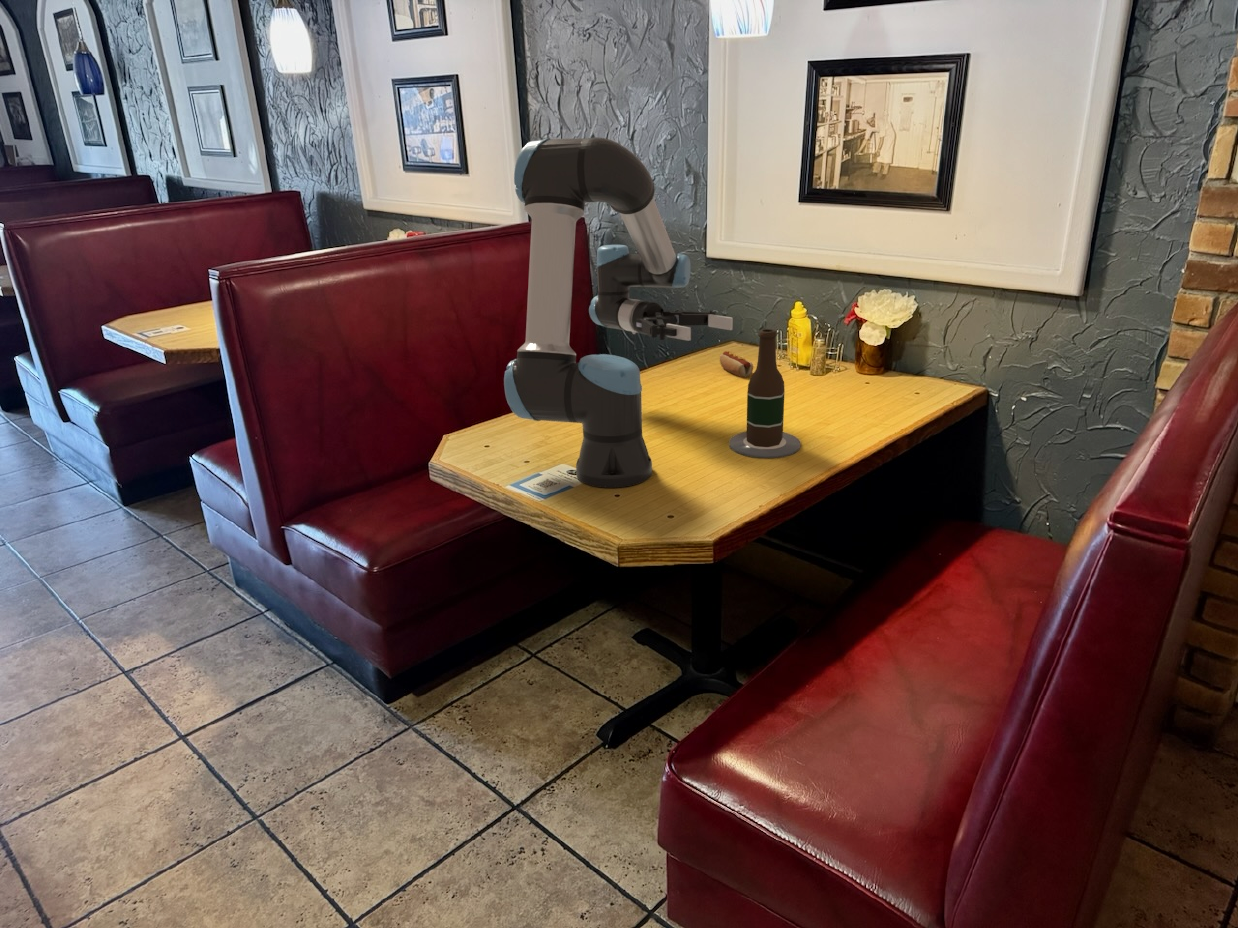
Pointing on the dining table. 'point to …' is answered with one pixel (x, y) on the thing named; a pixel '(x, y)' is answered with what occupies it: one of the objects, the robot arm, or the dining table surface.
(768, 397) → the beer bottle
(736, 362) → the food
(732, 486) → the dining table surface
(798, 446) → the slate coaster
